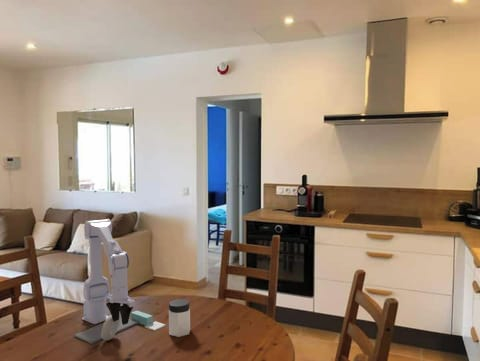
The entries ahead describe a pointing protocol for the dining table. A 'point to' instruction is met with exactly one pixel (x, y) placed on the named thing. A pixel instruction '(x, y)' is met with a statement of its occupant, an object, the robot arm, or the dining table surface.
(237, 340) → the dining table surface
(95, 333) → the slate board
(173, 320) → the jar
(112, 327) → the donut
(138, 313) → the turner
